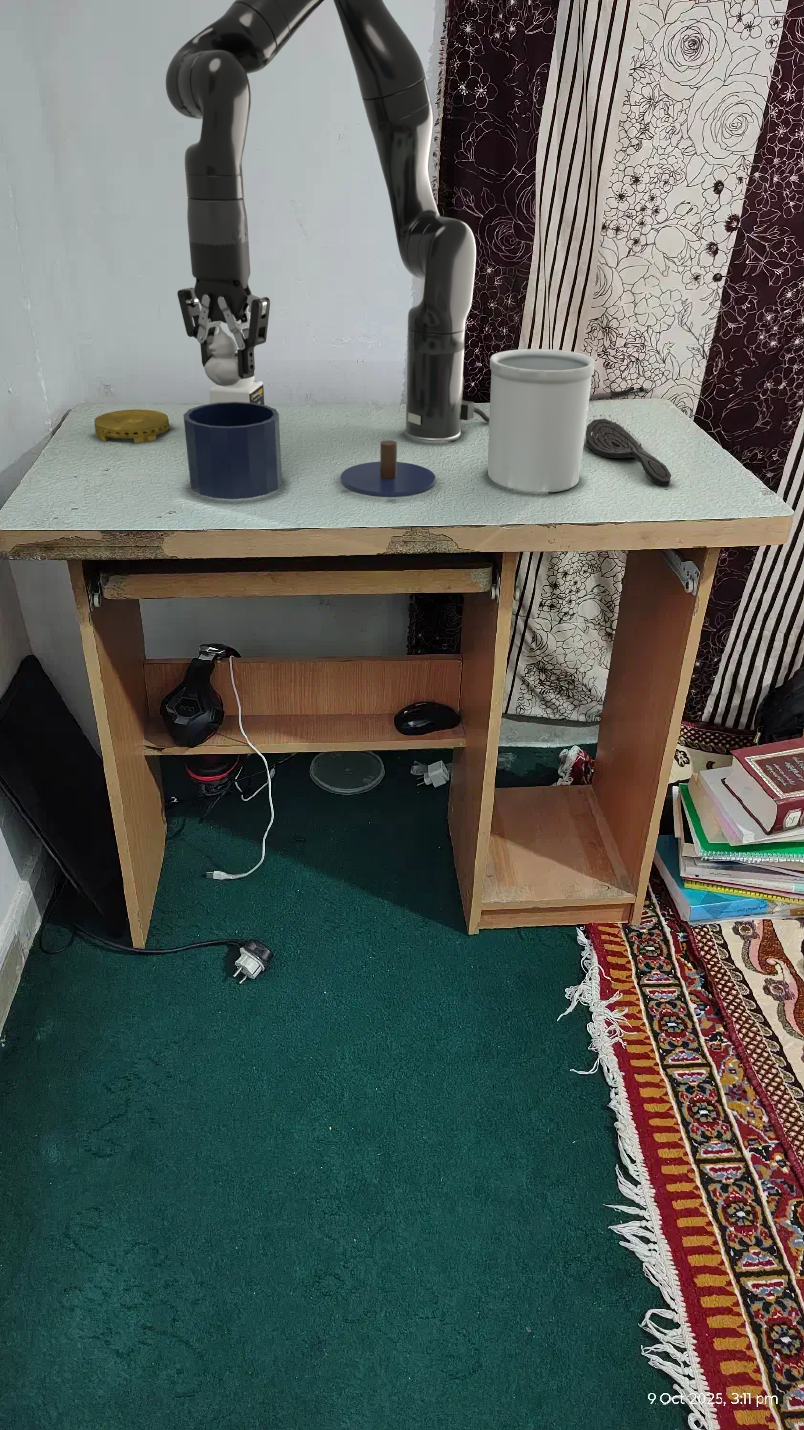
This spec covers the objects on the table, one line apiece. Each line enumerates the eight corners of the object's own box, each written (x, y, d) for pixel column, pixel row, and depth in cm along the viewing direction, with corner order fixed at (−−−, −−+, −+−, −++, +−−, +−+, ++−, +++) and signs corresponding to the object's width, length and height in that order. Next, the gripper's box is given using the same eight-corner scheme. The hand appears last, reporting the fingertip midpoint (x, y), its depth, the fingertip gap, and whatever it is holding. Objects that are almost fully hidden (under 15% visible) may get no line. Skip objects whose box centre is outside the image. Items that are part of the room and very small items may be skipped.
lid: (372, 463, 154) (372, 423, 150) (451, 479, 148) (453, 438, 145) (322, 489, 143) (321, 447, 140) (406, 507, 138) (406, 464, 134)
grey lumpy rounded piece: (203, 381, 137) (198, 320, 133) (250, 378, 139) (247, 318, 135) (209, 391, 133) (203, 328, 128) (257, 388, 134) (254, 326, 130)
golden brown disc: (180, 425, 169) (178, 412, 168) (153, 445, 159) (151, 432, 158) (114, 420, 171) (112, 407, 170) (83, 440, 161) (81, 427, 160)
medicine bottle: (252, 435, 165) (248, 361, 159) (212, 431, 166) (206, 358, 160) (265, 423, 171) (262, 351, 165) (226, 420, 172) (221, 348, 166)
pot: (228, 467, 151) (223, 397, 145) (298, 482, 146) (296, 410, 140) (172, 491, 141) (164, 418, 136) (244, 509, 136) (239, 433, 130)
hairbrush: (643, 470, 145) (577, 414, 164) (639, 493, 147) (574, 436, 166) (694, 466, 147) (623, 412, 166) (689, 490, 149) (619, 434, 168)
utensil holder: (466, 469, 152) (472, 351, 143) (549, 459, 157) (560, 344, 148) (512, 500, 141) (522, 374, 131) (600, 488, 146) (616, 366, 137)
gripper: (281, 239, 126) (287, 376, 135) (194, 230, 132) (205, 362, 141) (245, 245, 120) (254, 387, 129) (155, 236, 126) (169, 372, 135)
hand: (228, 373), depth 135 cm, fingers closed on grey lumpy rounded piece, 5 cm apart
